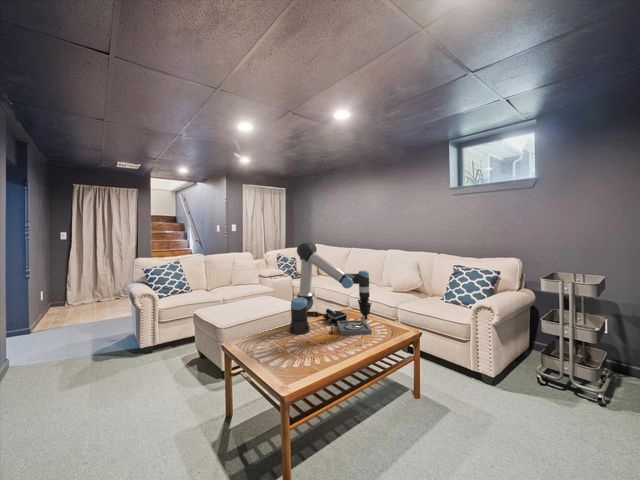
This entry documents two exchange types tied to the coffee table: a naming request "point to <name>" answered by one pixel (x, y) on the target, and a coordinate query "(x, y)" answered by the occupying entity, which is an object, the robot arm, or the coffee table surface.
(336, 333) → the screwdriver
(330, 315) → the film camera
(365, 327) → the panel
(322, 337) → the coffee table surface
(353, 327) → the dial
